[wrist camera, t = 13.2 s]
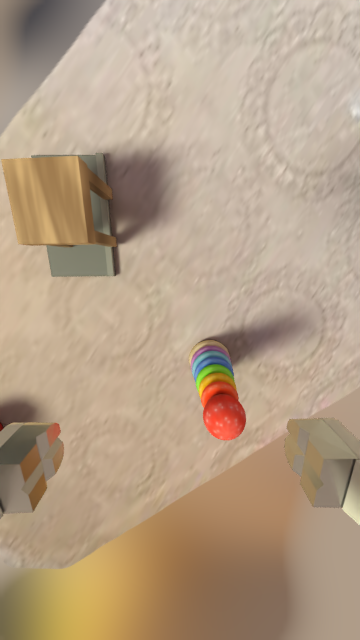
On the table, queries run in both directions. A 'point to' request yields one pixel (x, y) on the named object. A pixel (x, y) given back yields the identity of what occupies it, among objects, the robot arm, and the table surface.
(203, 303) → the table surface
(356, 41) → the table surface
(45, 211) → the stool
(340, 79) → the table surface
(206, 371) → the stacking toy
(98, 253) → the mat
